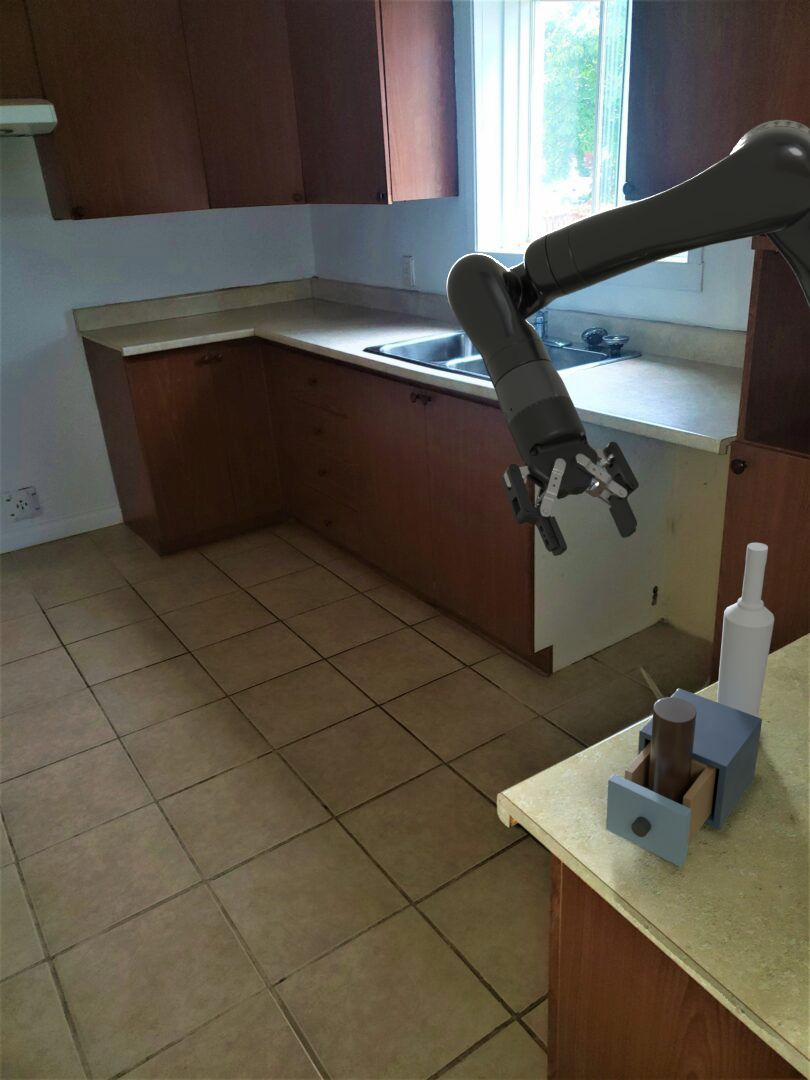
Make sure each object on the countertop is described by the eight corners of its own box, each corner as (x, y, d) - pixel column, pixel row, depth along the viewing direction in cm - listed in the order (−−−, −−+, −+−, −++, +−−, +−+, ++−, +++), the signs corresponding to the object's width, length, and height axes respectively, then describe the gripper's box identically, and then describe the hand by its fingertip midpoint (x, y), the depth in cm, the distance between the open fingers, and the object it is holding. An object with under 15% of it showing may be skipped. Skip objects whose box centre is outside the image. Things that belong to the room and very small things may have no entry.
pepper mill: (669, 791, 87) (678, 692, 82) (695, 816, 84) (706, 714, 78) (637, 804, 86) (644, 704, 80) (663, 830, 83) (671, 727, 77)
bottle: (708, 741, 97) (729, 554, 86) (714, 716, 101) (734, 533, 90) (755, 752, 95) (782, 560, 84) (759, 725, 99) (785, 539, 88)
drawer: (675, 875, 79) (680, 823, 76) (599, 836, 84) (601, 786, 81) (716, 817, 85) (722, 767, 82) (644, 784, 90) (647, 735, 87)
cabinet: (719, 830, 84) (726, 767, 81) (635, 791, 90) (639, 730, 87) (753, 779, 91) (762, 718, 87) (673, 746, 96) (678, 687, 93)
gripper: (492, 406, 85) (551, 546, 80) (607, 383, 89) (669, 514, 85) (471, 440, 92) (524, 572, 87) (579, 417, 96) (635, 541, 91)
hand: (596, 543), depth 86 cm, fingers open, 8 cm apart
